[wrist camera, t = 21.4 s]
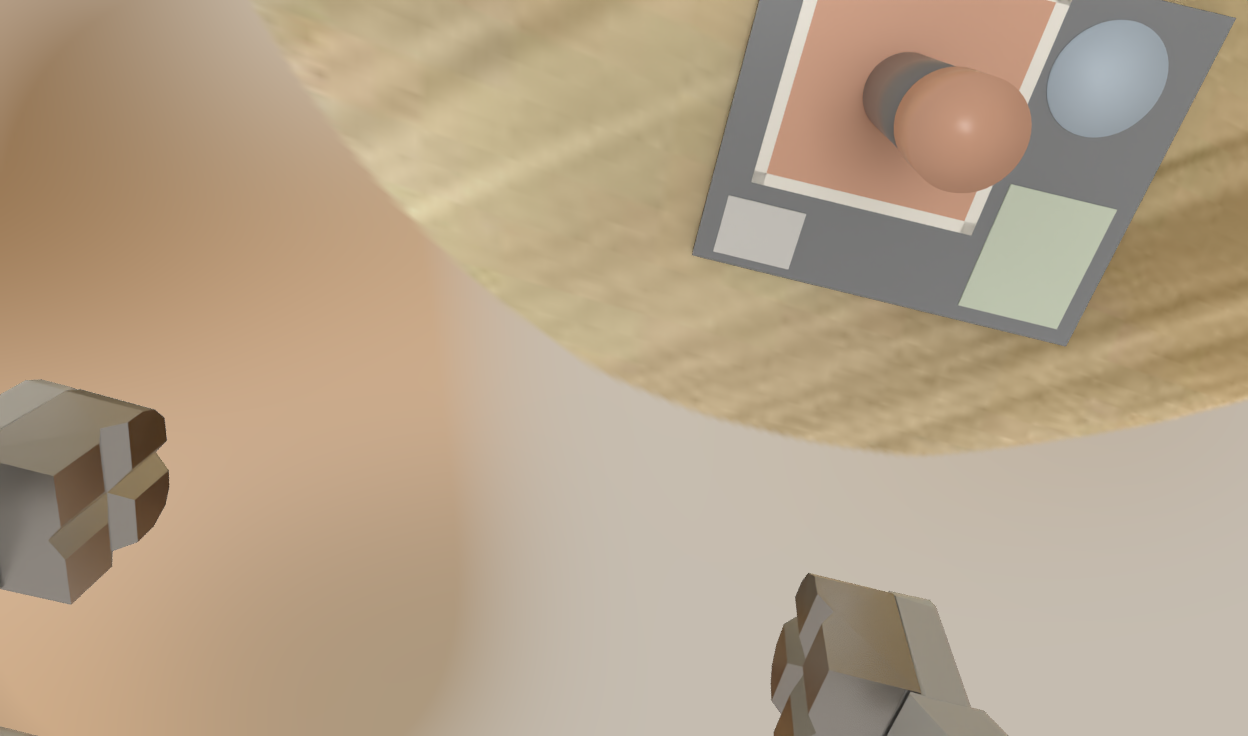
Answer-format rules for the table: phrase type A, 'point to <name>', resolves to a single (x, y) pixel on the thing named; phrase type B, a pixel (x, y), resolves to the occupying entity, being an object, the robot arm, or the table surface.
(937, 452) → the table surface
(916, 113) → the terracotta marker
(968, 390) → the table surface
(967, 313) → the picture board
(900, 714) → the robot arm
